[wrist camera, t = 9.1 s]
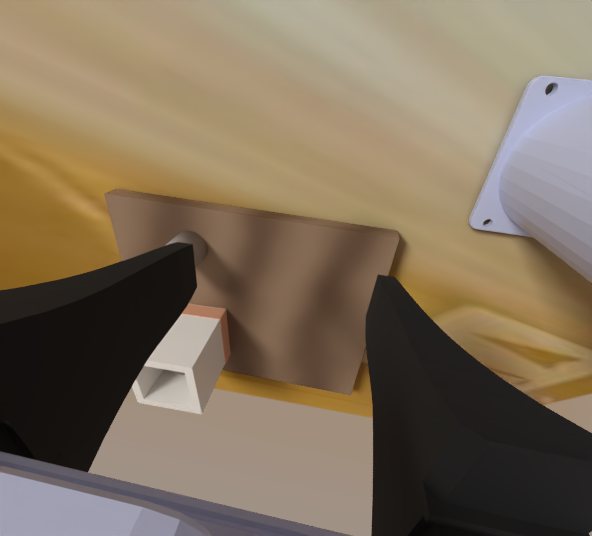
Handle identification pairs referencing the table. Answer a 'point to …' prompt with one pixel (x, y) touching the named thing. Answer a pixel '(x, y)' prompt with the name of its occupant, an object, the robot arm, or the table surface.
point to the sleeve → (186, 361)
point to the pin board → (270, 281)
